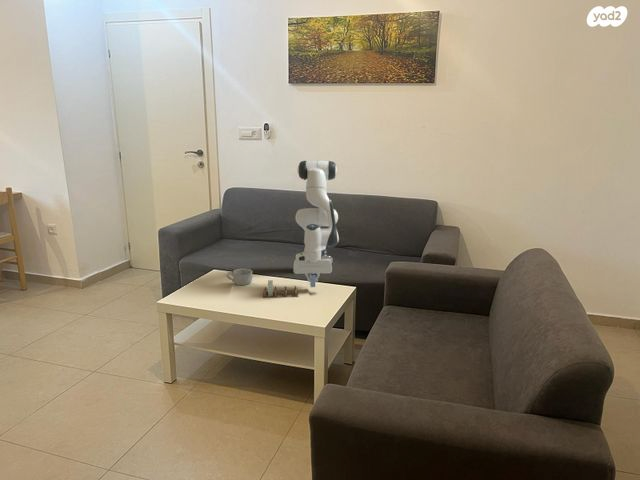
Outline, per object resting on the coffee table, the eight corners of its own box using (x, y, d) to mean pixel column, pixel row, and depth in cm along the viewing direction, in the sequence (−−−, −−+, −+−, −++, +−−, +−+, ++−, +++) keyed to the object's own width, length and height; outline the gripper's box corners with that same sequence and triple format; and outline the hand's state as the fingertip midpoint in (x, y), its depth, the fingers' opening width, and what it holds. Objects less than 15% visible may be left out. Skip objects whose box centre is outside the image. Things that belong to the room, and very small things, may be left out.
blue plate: (309, 283, 249) (309, 272, 248) (314, 283, 250) (314, 272, 248) (310, 287, 244) (310, 275, 242) (315, 287, 244) (315, 275, 243)
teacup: (254, 282, 264) (254, 268, 262) (250, 288, 253) (249, 274, 252) (230, 281, 265) (230, 268, 264) (225, 287, 255) (224, 273, 253)
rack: (263, 292, 246) (263, 286, 245) (297, 291, 248) (297, 285, 247) (262, 299, 234) (262, 293, 234) (298, 299, 236) (298, 292, 235)
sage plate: (268, 292, 243) (268, 280, 242) (272, 292, 243) (272, 280, 242) (268, 295, 238) (267, 283, 236) (272, 295, 238) (272, 283, 236)
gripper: (331, 254, 247) (331, 278, 250) (293, 254, 245) (293, 279, 248) (333, 257, 241) (332, 282, 244) (293, 257, 239) (293, 283, 242)
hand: (312, 281), depth 246 cm, fingers closed on blue plate, 2 cm apart
